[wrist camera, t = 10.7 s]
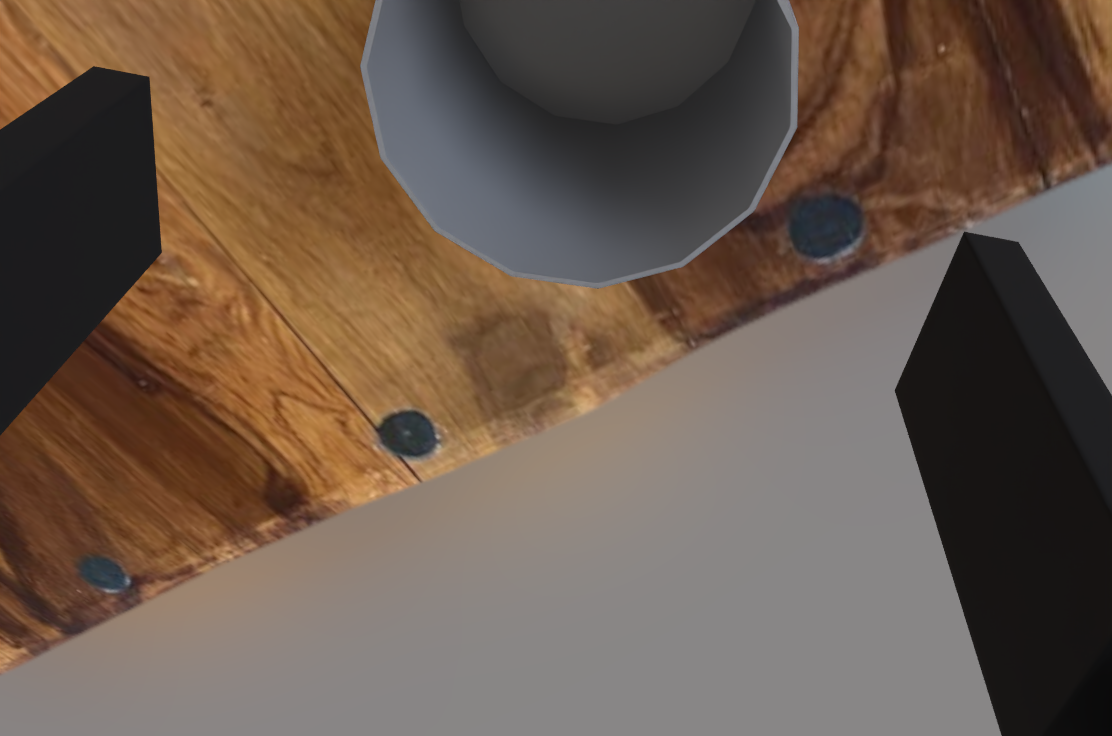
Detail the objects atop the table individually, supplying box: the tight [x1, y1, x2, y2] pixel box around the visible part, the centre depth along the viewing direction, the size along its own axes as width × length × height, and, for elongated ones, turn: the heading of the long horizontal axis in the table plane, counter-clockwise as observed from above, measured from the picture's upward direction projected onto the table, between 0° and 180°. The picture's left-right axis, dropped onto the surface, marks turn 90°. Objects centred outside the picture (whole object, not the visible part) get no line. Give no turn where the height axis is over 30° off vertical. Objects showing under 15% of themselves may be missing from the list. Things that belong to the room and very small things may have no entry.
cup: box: [360, 0, 799, 289], centre depth 24 cm, size 8×8×10 cm
